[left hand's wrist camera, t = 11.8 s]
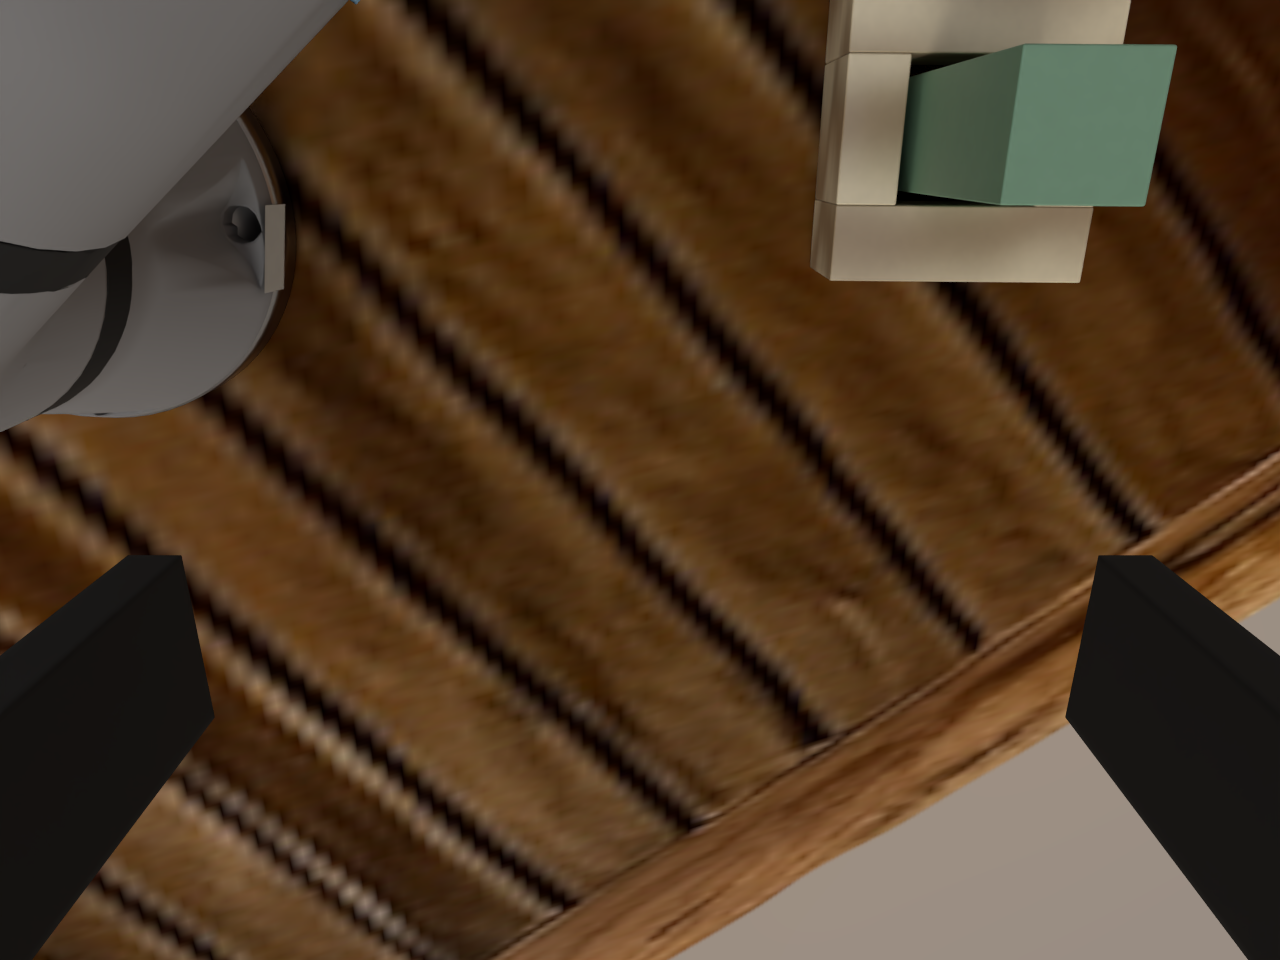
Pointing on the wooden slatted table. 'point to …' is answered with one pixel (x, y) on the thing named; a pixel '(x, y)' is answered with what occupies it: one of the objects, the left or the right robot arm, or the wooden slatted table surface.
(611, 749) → the wooden slatted table surface
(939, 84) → the peg
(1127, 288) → the wooden slatted table surface
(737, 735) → the wooden slatted table surface
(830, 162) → the peg board
